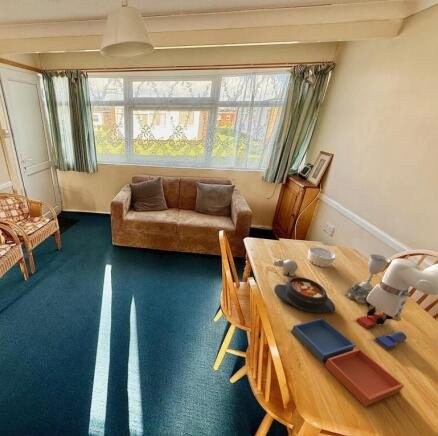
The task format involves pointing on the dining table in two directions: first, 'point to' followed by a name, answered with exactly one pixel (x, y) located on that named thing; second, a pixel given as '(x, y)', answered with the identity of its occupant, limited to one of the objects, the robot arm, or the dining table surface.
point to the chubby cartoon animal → (287, 266)
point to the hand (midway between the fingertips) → (374, 320)
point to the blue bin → (322, 339)
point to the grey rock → (357, 293)
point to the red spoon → (369, 320)
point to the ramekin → (320, 260)
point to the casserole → (305, 295)
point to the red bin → (363, 376)
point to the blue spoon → (390, 339)
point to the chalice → (374, 268)
